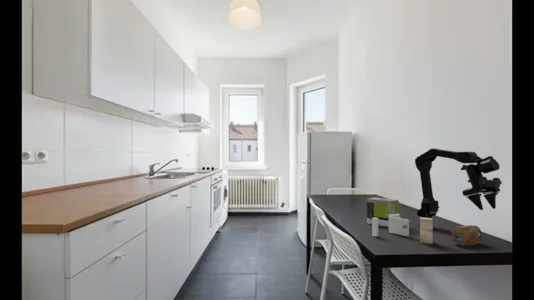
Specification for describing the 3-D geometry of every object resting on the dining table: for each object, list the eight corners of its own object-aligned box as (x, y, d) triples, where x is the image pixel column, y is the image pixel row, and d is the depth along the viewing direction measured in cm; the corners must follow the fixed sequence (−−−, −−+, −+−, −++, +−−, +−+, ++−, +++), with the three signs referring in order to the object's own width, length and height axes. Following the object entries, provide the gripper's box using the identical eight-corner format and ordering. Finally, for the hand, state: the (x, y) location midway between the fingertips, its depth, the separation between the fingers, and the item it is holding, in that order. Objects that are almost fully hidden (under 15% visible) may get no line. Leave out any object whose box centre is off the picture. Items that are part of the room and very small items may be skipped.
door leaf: (387, 232, 155) (387, 217, 155) (390, 232, 157) (390, 216, 157) (406, 237, 147) (406, 220, 147) (409, 236, 149) (408, 219, 149)
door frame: (397, 229, 163) (397, 212, 163) (400, 230, 161) (400, 213, 161) (372, 236, 150) (372, 217, 150) (375, 237, 148) (375, 218, 148)
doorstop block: (420, 240, 142) (420, 217, 142) (432, 242, 140) (432, 218, 140) (420, 243, 138) (419, 219, 138) (432, 245, 135) (432, 220, 135)
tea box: (399, 225, 173) (399, 199, 173) (392, 228, 166) (392, 201, 166) (374, 221, 184) (374, 196, 184) (366, 223, 177) (366, 198, 177)
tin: (456, 246, 133) (456, 227, 133) (450, 244, 136) (450, 225, 136) (482, 244, 137) (482, 225, 138) (475, 242, 140) (475, 223, 141)
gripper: (479, 171, 134) (493, 207, 128) (505, 171, 141) (519, 204, 136) (456, 179, 143) (468, 212, 138) (481, 177, 151) (494, 209, 145)
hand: (488, 209), depth 139 cm, fingers open, 9 cm apart
